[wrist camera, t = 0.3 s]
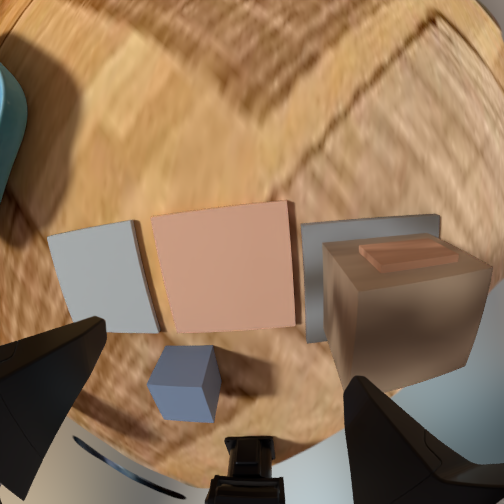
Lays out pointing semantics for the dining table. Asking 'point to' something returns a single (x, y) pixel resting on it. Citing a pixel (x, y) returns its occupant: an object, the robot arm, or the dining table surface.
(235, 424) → the dining table surface
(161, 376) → the block
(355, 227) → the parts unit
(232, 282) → the terracotta mat
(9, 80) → the casserole dish
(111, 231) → the grey mat
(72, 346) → the robot arm
